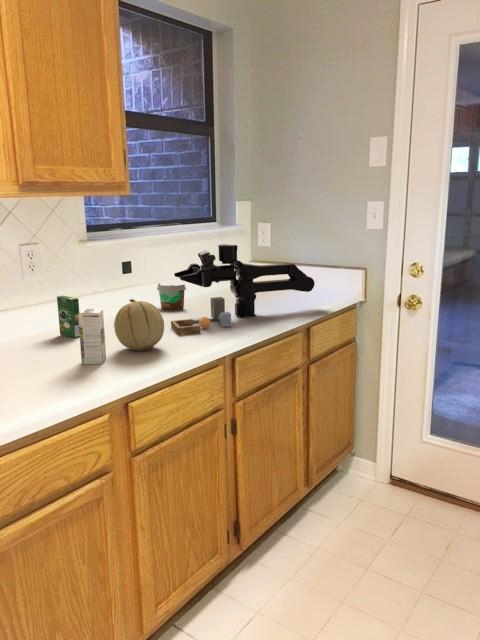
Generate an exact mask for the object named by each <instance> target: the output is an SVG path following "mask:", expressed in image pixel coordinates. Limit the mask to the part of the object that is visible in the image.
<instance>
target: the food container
mask: <svg viewBox="0 0 480 640" xmlns="http://www.w3.org/2000/svg"><path fill="white" fill-rule="evenodd" d="M156 287H157V288H156V290H157V291H158V295H159V300H160V307H161V310H162V311H168V312H169V311H181V310H184V308H185V307H184V306H185V291H186V290H187V289H186V288H187V287H186V285H185V284H179V285H174V284H170V285H169V284H167V285H161V283H158V284H157V286H156Z"/></svg>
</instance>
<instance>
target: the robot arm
mask: <svg viewBox="0 0 480 640" xmlns="http://www.w3.org/2000/svg"><path fill="white" fill-rule="evenodd" d="M217 248H218V261H219V262H221V264H222V265H216V264H215V262H214V261H216V259H217V258H216V256H215V254H211V252H209V250H203V251H201V252H199V253H197V256H198V258H199V260H200V262H201V265H199V264H198V263H190V265H189V266H187V267H188V268H187V269H183V270H180V271H178V272H174V274H173V275H174V277H176V278H179V279H180V281H182V282H186V283H188V284H189V283H190V284H193V285H197V286H199V287H203V288H210V287H211V285H213V283H216V284H217V283H218V284H219V283H220V282H230V283H229V284H230V285H229V289H230V291H231V293H232V294H234V296H235V297H234V298H235V303H234V315H235V316H237V317H238V318H250V317H257V314H255V312H256V311H255V309H256V308H255V301H256V298H257V293H265V292H278V291H291V290H292V291H298V292H305V293H306V292H307V293H309V292H311V291H312V290H313V289H314V287H315V284H316V283H315V280H314V279H313V277H311V276H308V275H307V274H306V273H305V272H303V271H302V270H301V269H300V268H299V267H298V266H297V265H296V264H294V263H292V262H287V263H278V264H262V265H259V264H251V263H243V262H242V261H241V260H238V245H237V244H225V243H224V244H218V247H217ZM280 275H288V277H289V278H287V279H286V278H285V279H274V280H273V279H272V280H261V281H254V280H255V279H258V278H260V277H267V276H280Z"/></svg>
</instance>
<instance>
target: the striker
mask: <svg viewBox="0 0 480 640" xmlns="http://www.w3.org/2000/svg"><path fill="white" fill-rule="evenodd" d="M225 303H226V302H225V298H224V297H223V296H215V297H210V317H211V318H214V319H220V321H219V322H220V323H219V324H220V326H221V327H222V328H225V327H232V313H231V312H229V311H226V308H225V307H226V306H225Z"/></svg>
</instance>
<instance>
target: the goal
mask: <svg viewBox="0 0 480 640" xmlns="http://www.w3.org/2000/svg"><path fill="white" fill-rule="evenodd" d="M193 320H194V319H193V318H189V319H187V318H185V319H175V320H170V327H171V328H170V329H172V330H173V331H174V332H175V333H176V334H177V336H185V335H196V334H201V333H202V332H201V331H202V330H201V329H202V328H201V327H200V325H199V324H196V325H195V324H193Z"/></svg>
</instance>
